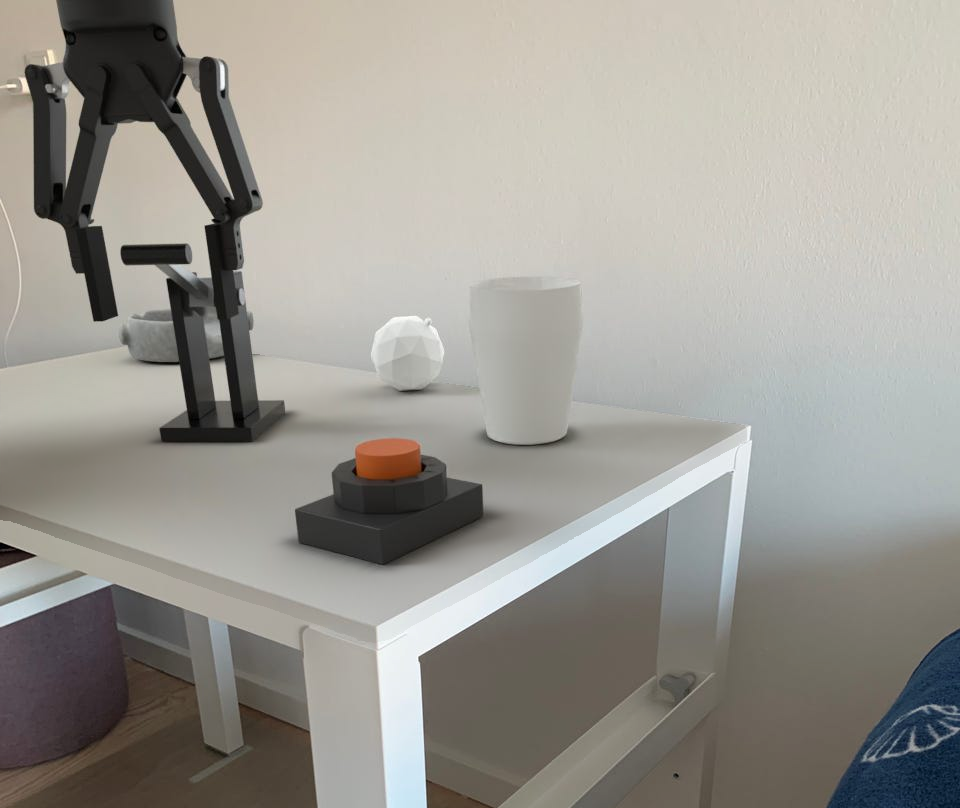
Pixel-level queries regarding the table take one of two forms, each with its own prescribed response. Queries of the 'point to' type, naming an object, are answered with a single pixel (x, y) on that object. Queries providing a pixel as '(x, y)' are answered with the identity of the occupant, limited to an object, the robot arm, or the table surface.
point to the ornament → (407, 353)
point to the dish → (166, 336)
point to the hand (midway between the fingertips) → (166, 317)
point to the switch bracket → (203, 413)
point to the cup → (526, 355)
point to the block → (388, 512)
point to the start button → (388, 458)
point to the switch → (174, 271)
